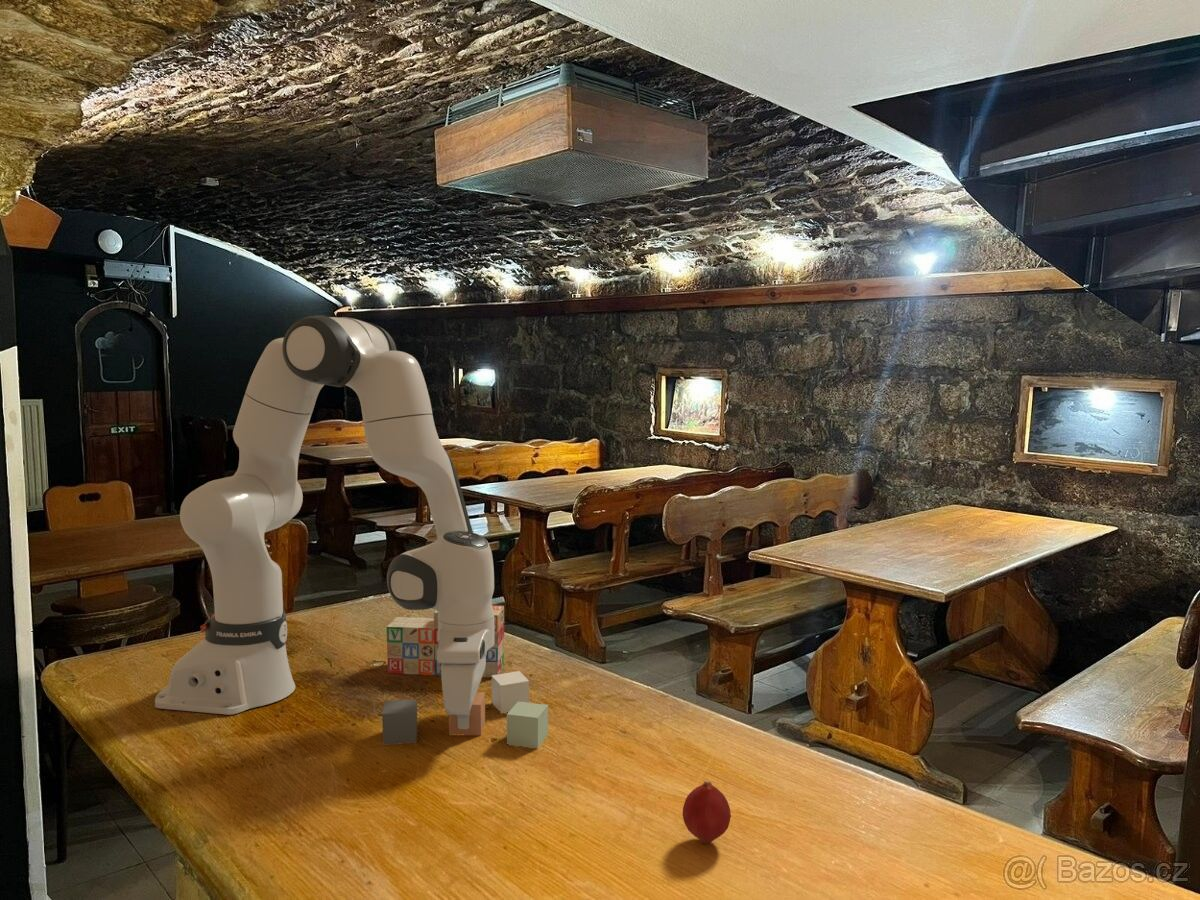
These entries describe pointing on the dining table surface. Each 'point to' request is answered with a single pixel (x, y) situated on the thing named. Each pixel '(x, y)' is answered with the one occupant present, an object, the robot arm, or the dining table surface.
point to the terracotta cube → (471, 718)
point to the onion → (706, 813)
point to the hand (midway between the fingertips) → (467, 718)
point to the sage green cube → (527, 724)
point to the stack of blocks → (433, 645)
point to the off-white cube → (509, 690)
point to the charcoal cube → (399, 721)
